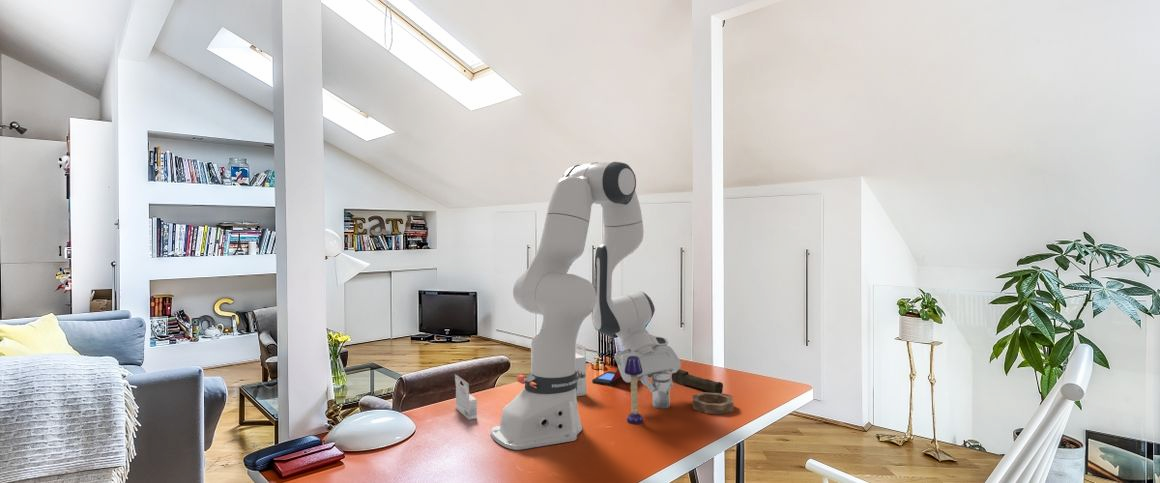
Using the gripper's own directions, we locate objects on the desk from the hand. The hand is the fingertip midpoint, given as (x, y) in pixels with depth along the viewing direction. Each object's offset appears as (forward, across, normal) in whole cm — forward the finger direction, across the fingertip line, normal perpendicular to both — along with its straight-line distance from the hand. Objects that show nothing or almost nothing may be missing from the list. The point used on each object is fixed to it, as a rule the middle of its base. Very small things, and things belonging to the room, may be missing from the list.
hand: (662, 388), depth 146 cm
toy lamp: (+7, -14, 0) cm, 16 cm away
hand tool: (-2, +20, +9) cm, 22 cm away
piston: (+3, 0, +4) cm, 5 cm away
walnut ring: (+9, +11, -2) cm, 15 cm away
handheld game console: (-16, +4, +24) cm, 29 cm away
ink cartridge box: (-14, -48, +22) cm, 55 cm away
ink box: (-14, -14, +21) cm, 29 cm away
